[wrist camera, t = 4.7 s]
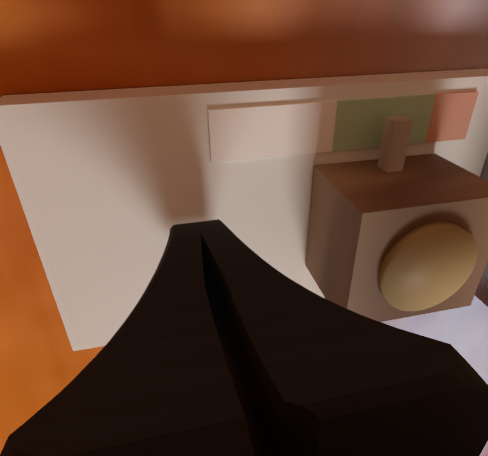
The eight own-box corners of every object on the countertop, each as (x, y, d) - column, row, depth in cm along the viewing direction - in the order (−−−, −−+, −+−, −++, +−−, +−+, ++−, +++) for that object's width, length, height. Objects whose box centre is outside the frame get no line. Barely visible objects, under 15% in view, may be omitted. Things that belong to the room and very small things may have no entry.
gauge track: (522, 66, 12) (558, 72, 11) (455, 265, 17) (477, 283, 15) (3, 95, 10) (-15, 107, 9) (78, 325, 14) (72, 353, 13)
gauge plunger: (446, 107, 11) (546, 142, 8) (410, 249, 14) (477, 312, 11) (317, 117, 10) (380, 159, 8) (305, 265, 13) (348, 336, 10)
